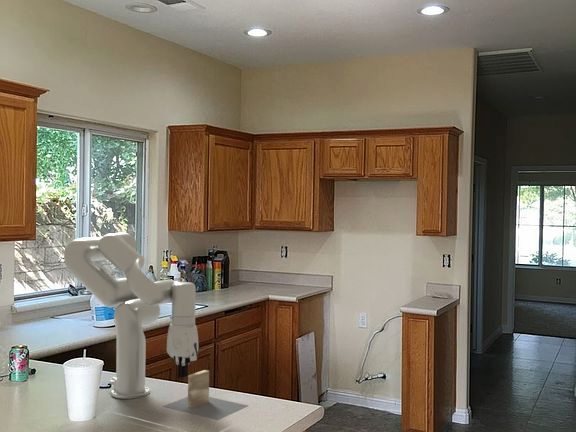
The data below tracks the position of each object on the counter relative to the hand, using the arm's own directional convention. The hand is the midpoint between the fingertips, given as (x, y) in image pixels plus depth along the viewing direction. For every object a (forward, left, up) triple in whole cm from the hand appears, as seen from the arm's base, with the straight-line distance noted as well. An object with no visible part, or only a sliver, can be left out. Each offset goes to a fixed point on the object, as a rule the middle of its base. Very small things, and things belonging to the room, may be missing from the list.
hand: (182, 376), depth 205 cm
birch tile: (+7, 0, -8) cm, 10 cm away
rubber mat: (+10, 0, -8) cm, 13 cm away
